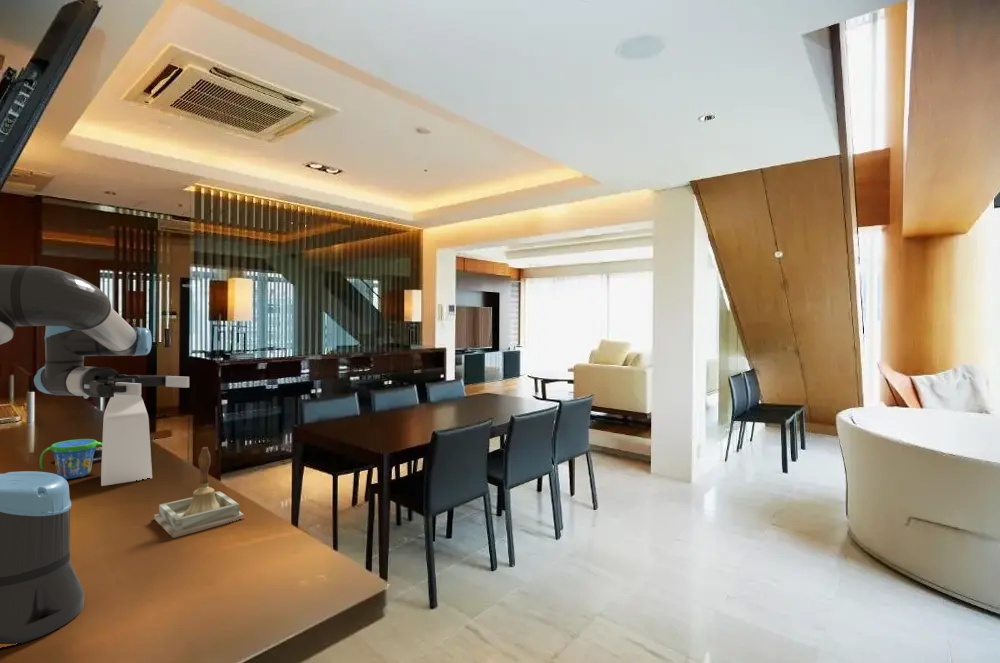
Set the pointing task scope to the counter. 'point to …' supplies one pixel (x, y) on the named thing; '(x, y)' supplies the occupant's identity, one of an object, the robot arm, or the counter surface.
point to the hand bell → (203, 488)
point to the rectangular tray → (196, 515)
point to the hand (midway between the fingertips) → (165, 385)
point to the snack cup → (73, 457)
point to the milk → (125, 441)
